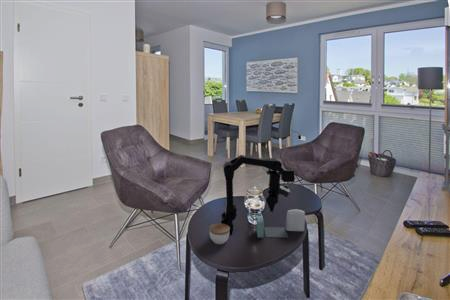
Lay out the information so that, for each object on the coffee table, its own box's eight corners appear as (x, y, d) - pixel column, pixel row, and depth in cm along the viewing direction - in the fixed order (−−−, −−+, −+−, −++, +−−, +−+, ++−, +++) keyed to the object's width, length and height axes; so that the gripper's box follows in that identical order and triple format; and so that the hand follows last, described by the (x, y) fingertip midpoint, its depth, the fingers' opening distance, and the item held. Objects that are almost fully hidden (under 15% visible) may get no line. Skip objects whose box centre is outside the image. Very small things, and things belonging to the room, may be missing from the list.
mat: (266, 237, 162) (266, 236, 162) (263, 227, 172) (263, 227, 172) (288, 237, 161) (288, 237, 161) (284, 228, 172) (284, 227, 172)
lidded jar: (233, 239, 159) (233, 223, 157) (222, 249, 150) (223, 232, 148) (216, 234, 165) (216, 218, 162) (205, 243, 156) (205, 226, 153)
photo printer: (286, 231, 168) (287, 211, 166) (285, 227, 173) (286, 207, 170) (304, 232, 168) (306, 211, 165) (303, 228, 172) (304, 208, 169)
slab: (257, 237, 162) (258, 222, 160) (256, 230, 169) (256, 215, 167) (263, 237, 162) (263, 222, 160) (261, 230, 169) (262, 215, 167)
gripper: (288, 189, 151) (286, 217, 155) (290, 178, 169) (288, 203, 173) (266, 186, 154) (265, 214, 157) (270, 176, 172) (268, 201, 175)
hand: (272, 208), depth 166 cm, fingers open, 9 cm apart
